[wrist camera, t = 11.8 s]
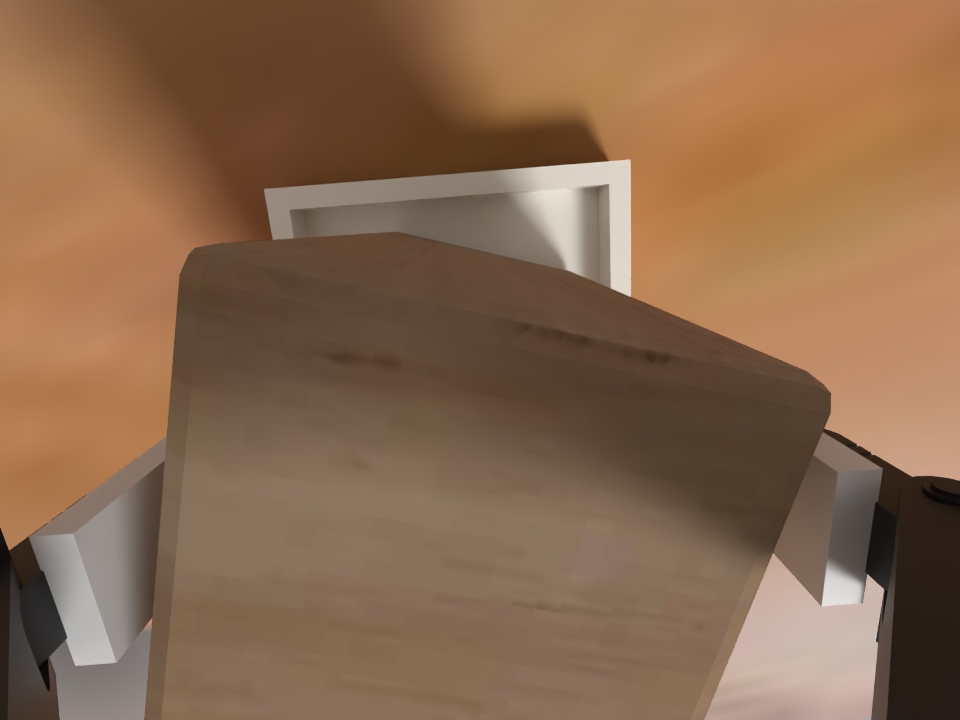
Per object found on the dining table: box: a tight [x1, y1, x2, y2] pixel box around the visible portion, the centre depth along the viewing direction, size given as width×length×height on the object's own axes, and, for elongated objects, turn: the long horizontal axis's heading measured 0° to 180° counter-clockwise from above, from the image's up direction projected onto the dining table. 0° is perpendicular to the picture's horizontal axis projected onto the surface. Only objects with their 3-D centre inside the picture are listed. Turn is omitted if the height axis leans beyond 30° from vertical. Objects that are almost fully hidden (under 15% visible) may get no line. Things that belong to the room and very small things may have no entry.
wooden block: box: [144, 232, 831, 720], centre depth 18 cm, size 10×10×20 cm
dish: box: [264, 160, 631, 297], centre depth 27 cm, size 17×17×3 cm
